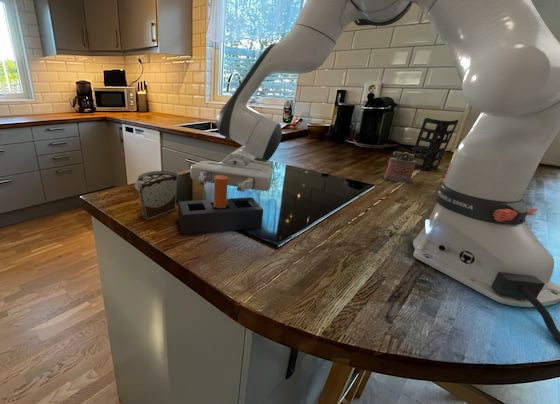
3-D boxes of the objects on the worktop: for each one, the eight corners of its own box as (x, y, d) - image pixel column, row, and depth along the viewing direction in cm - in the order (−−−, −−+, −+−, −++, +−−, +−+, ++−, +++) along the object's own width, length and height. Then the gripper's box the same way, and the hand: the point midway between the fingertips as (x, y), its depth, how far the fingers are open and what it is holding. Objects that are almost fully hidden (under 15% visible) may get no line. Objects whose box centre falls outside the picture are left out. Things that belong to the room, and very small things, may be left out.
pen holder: (261, 228, 71) (263, 209, 69) (182, 234, 67) (182, 214, 65) (250, 214, 77) (252, 197, 75) (178, 219, 74) (178, 201, 72)
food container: (165, 201, 84) (164, 167, 80) (179, 207, 80) (179, 172, 76) (127, 213, 76) (124, 176, 72) (141, 221, 72) (139, 183, 68)
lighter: (410, 180, 106) (419, 153, 102) (410, 183, 103) (419, 155, 99) (384, 176, 110) (391, 149, 106) (383, 179, 107) (391, 151, 103)
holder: (432, 165, 124) (451, 116, 114) (443, 172, 118) (464, 121, 108) (404, 164, 125) (421, 116, 115) (413, 171, 119) (432, 121, 109)
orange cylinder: (226, 226, 71) (229, 179, 66) (214, 227, 71) (216, 179, 66) (223, 220, 74) (225, 174, 69) (211, 221, 73) (213, 175, 69)
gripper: (202, 152, 81) (179, 165, 70) (277, 161, 74) (265, 177, 62) (201, 174, 84) (179, 190, 72) (274, 185, 76) (262, 205, 65)
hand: (220, 184), depth 67 cm, fingers open, 8 cm apart
